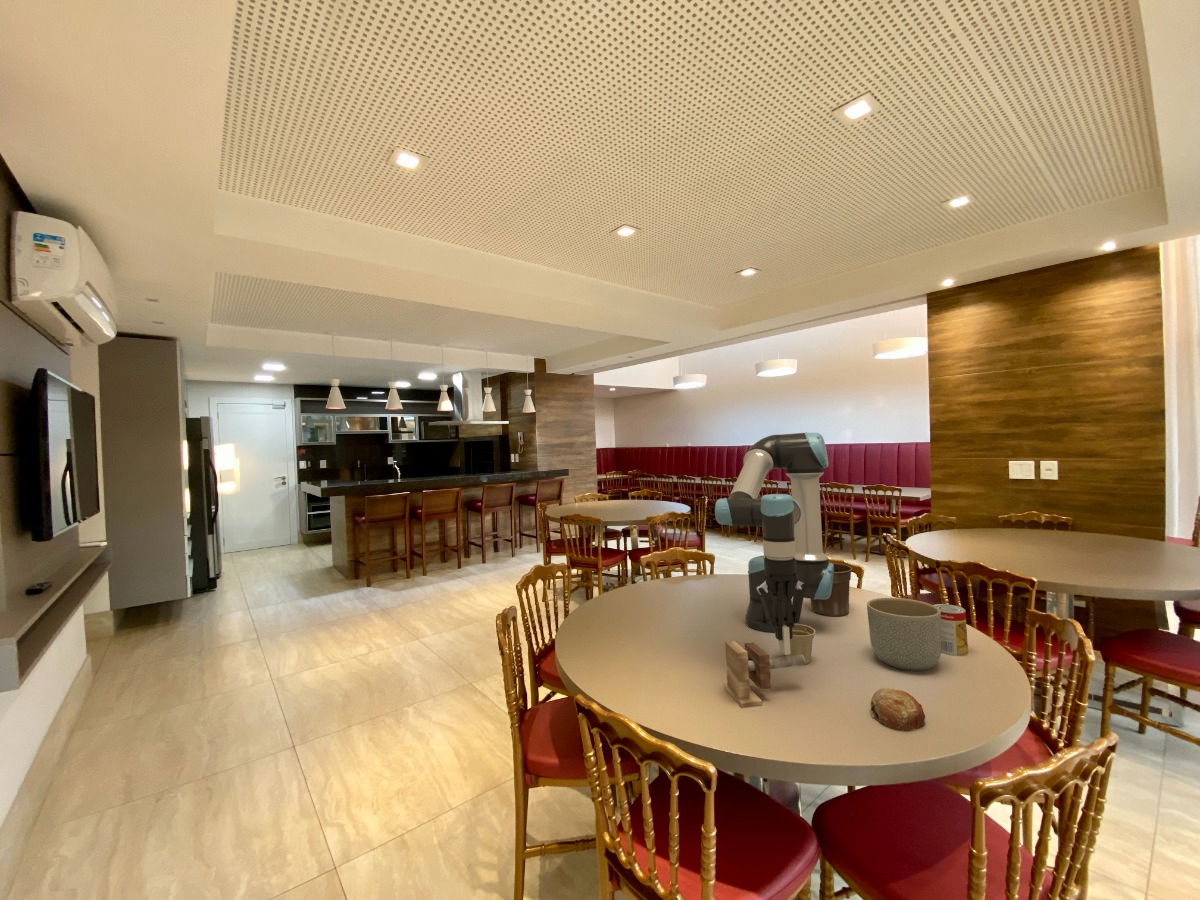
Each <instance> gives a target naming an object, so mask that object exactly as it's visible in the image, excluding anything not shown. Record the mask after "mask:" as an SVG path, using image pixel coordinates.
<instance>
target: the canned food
mask: <svg viewBox="0 0 1200 900" xmlns="http://www.w3.org/2000/svg"><path fill="white" fill-rule="evenodd" d="M933 605H934V606H936V607H937V608H939V609H940V612H941V654H944V655H947V656H956V657H964V656H967V655H968V654H969V648H968V646H969V645H968V632H967V630H968V629H967V613H966V609H965V608H963V607H962V606H959V605H953V604H944V603H937V604H933Z"/></svg>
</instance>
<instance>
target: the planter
mask: <svg viewBox="0 0 1200 900" xmlns="http://www.w3.org/2000/svg"><path fill="white" fill-rule="evenodd" d="M934 605H935V604H931V603H928V602H925V601H920V600H916V599H910V598H904V597H903V598H902V597H901V598H900V597H879V598H873V599H870V600H869V601H867V602H866V609H867V619H868V631H869V639H870V645H871V648H872V650H873V652H874V654H875V655H876V656H877V658H879V660H881V661H882V662H884V663H885V664H886V665H888V666H891V667H894V668H896V669H900V670H904V671H909V672H921V671H927V670H929V669H931V668H934V667H935V666H936V665H937V664H938V663H939V661H940V660H941V656H942V653H941V612H940V609H939V608H937V607H936V606H934Z"/></svg>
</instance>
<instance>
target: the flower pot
mask: <svg viewBox="0 0 1200 900" xmlns="http://www.w3.org/2000/svg"><path fill="white" fill-rule="evenodd" d="M794 625H795V626H794V627H793V628H792V636H793V637H792V639H790V654H787V655H786V656H794V655H803V656H804V658H805V665H808V664H809V663H810V662H812V651H813V639H814V638H815V634H816V629H814V628H813V627H812V626H809V625H806V624H799V623H795V624H794Z"/></svg>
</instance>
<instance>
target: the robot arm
mask: <svg viewBox="0 0 1200 900" xmlns="http://www.w3.org/2000/svg"><path fill="white" fill-rule="evenodd" d="M828 467H829V457H828V452H827V447H826V442H825V440H824V437H823V435H822V434H820V433H819V432H800V433H799V432H798V433H786V434H785V433H783V434H773V435H772V434H771V435H768V436H765V437H763V438H761V439H760V440H758V441H756V442H755V443H754V444H753V445H751V446H750V447H749V448H748V449H747V451H746V452H745V454H744V456H743V466H742V468H741V470H740V472H739V475H738V477H737V479H736V482H735V484H734V486H733V488H732V490H731V492H730V495H729V496H728V498H727V497H724V498H719V499H717V500H716V502H715V506H714V516H715V519H716V522H717V523H718V524H719V525H722V526H730V527H732V526H735V527H736V526H738V527H743V526H744V527H746V526H747V527H762V529H761V530H762V544H763V545H762V547H763V550H762V551H763V555H758V556H754V557H752V558H750V560H748V564H747V565H748V567H747V569H748V571H747V574H748V588H749V589H748V591H749V592H748V593H749V604H748V608H747V611H746V614H745V625H746V624H747V625H748V626H749V627H748V626H747V625H746V626H747V627H748V628H750V627H751V628H750V629H752V628H753V630H756V631H758V632H759V631H760V632H764V633H765V632H767V633H774V634H775V636H774V637H775V638H776V640H777V641H778V650H779V651H780V653H782V654H783V656H787V654H790V639H792V637H793V636H792V628H793V627H794V626H795V625H794V624H799V623H800V620H801V614H802V607H803V603H804V599H810V600H811V599H814V600H815V599H822V600H826V599H828V598H829V597H830V595H831V591H832V585H833V576H834V565H833V564H832V563H833V562H829V557H828V556H827V554H825V552H824V549H823V548H824V547H823V532H822V515H821V514H822V513H821V496H820V491H821V490H820V478H821V477H822V476H823V475H824V474H825V473H824V472H825V471H824V470H825V469H827V468H828ZM775 469H777V470H783V469H784V470H785V475H786V476H787V477H788V478H789V479H790V489H791V495H790V494H788V493H771V494H764V495H762V496H761V498H758V497H759V494H760V492H761V489H762V487H763V484H764V481H765V479H766V477H767V475H768V474H769V473H770V472H771V471H772V470H775Z"/></svg>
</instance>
